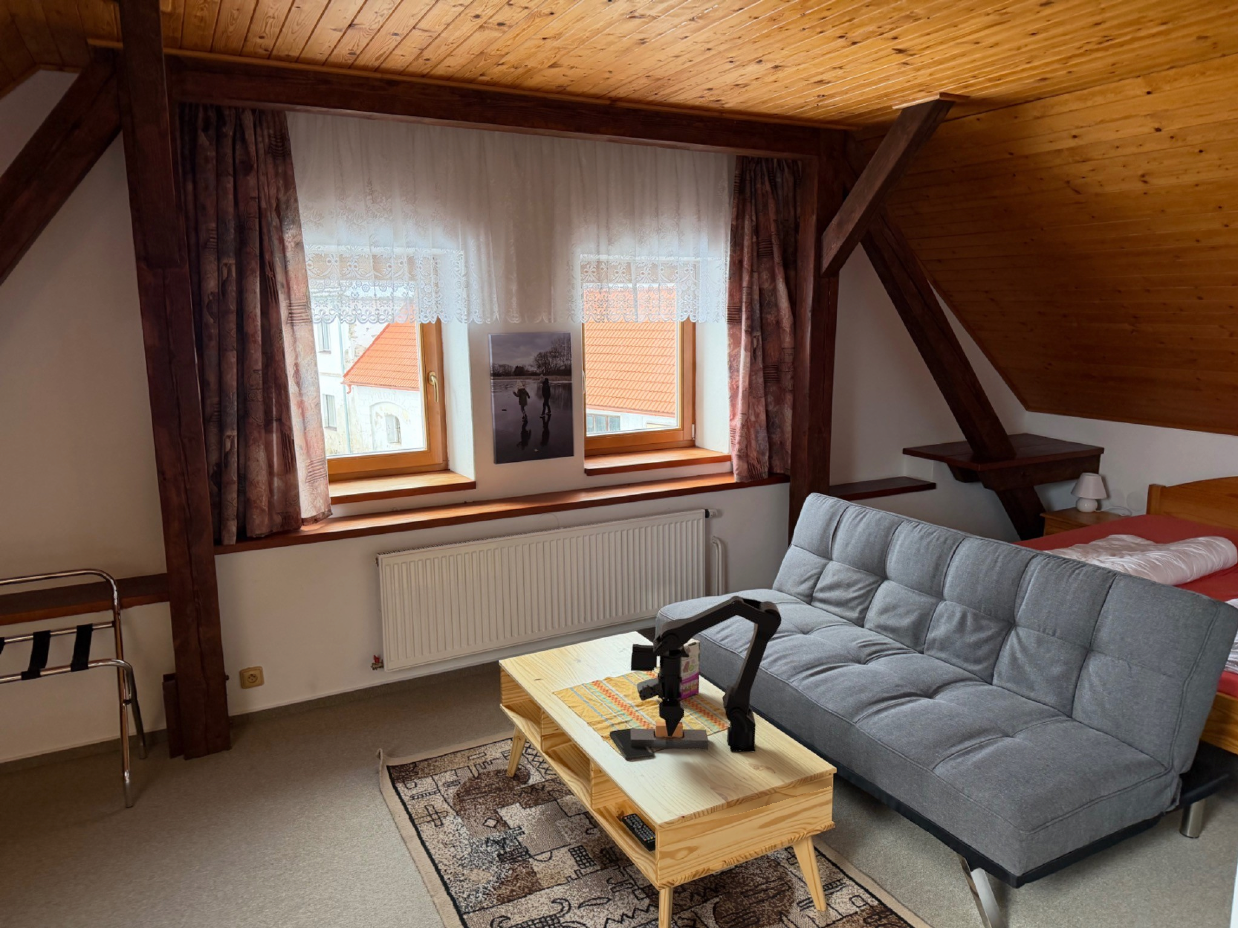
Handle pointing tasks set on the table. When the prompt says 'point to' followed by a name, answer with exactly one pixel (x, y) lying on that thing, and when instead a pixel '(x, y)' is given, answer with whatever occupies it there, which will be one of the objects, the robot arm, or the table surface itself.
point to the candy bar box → (690, 670)
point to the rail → (669, 739)
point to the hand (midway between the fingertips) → (668, 727)
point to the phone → (629, 746)
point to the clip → (662, 731)
